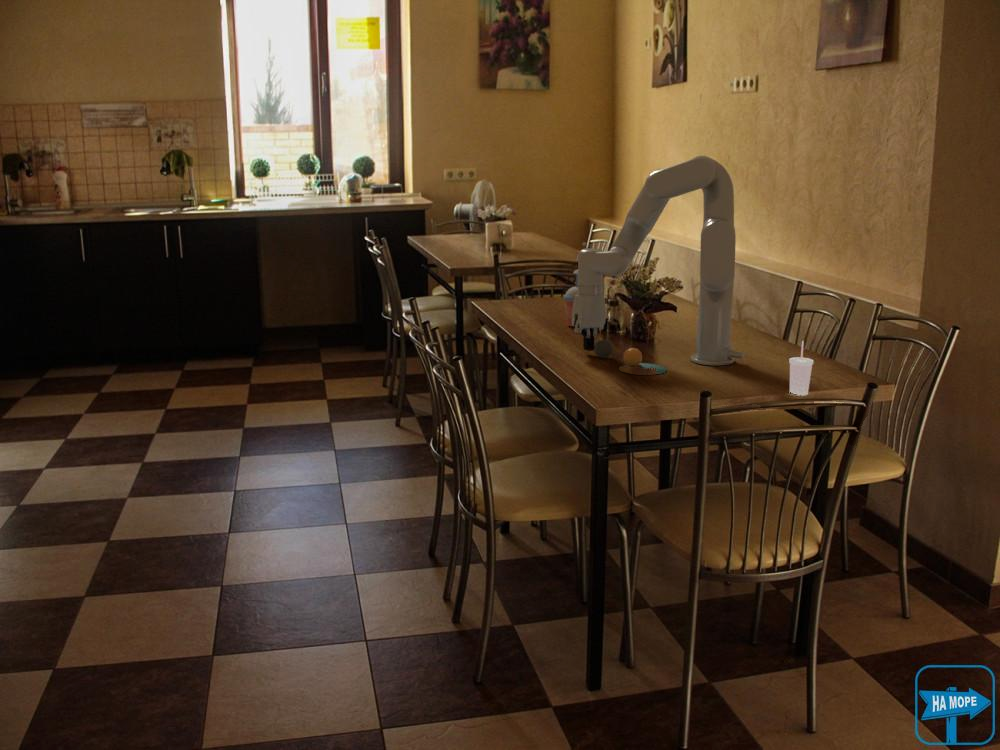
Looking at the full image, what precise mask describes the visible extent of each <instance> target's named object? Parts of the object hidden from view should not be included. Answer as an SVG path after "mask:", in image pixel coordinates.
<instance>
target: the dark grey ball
mask: <svg viewBox="0 0 1000 750" xmlns="http://www.w3.org/2000/svg"><path fill="white" fill-rule="evenodd" d="M612 352H613V345H612V344H611V342H610V341H608V340H605V339H601V340H598V341H597V342H596V343H594V350H593V353H595V356H596V357H598V358H600V359H606V358H610V356H611V355H612Z"/></svg>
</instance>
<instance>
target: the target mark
mask: <svg viewBox="0 0 1000 750" xmlns="http://www.w3.org/2000/svg"><path fill="white" fill-rule="evenodd" d="M639 365H641V366H642V367H643V369H646V368H647V369H648V368H649V369H650V368H651V367H652V368H651V369H653V368H654V369H655V368H656V372H657V373H656V374H660V375H663V374H662V373H664V374H666V373H667V372H668V368H667V367H665V366H662V365H659V364H654V363H648V362H645V363H644V362H641V363H640V364H639ZM647 369H646V370H647ZM666 371H667V372H666ZM665 372H666V373H665ZM645 373H646V372H645ZM652 373H653V372H652Z"/></svg>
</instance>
